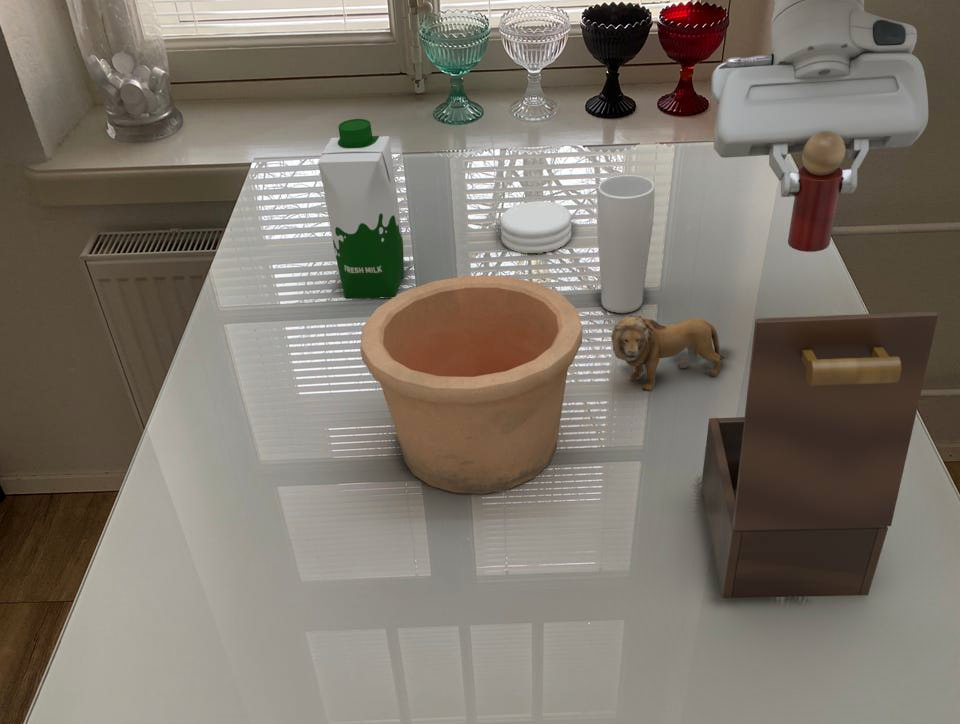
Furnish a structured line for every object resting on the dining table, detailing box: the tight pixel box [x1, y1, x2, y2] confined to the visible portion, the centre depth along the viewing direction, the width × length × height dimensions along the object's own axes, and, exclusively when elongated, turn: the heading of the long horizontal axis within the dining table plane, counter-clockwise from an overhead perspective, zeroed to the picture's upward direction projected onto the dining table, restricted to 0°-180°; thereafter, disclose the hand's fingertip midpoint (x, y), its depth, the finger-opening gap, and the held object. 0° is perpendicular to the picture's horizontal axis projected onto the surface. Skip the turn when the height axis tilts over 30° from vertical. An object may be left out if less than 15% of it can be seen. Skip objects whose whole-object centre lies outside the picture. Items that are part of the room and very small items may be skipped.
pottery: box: [359, 275, 583, 495], centre depth 102 cm, size 22×22×14 cm
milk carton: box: [317, 118, 405, 299], centre depth 128 cm, size 9×9×20 cm
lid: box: [733, 310, 939, 530], centre depth 74 cm, size 17×13×5 cm
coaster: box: [500, 200, 572, 254], centre depth 140 cm, size 10×10×4 cm
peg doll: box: [787, 131, 846, 253], centre depth 99 cm, size 4×4×11 cm
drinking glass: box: [596, 174, 655, 314], centre depth 122 cm, size 7×7×15 cm
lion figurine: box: [610, 315, 725, 392], centre depth 111 cm, size 15×5×9 cm, turn 113°
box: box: [700, 416, 889, 599], centre depth 91 cm, size 17×13×9 cm
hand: (819, 192), depth 99 cm, fingers closed on peg doll, 4 cm apart
